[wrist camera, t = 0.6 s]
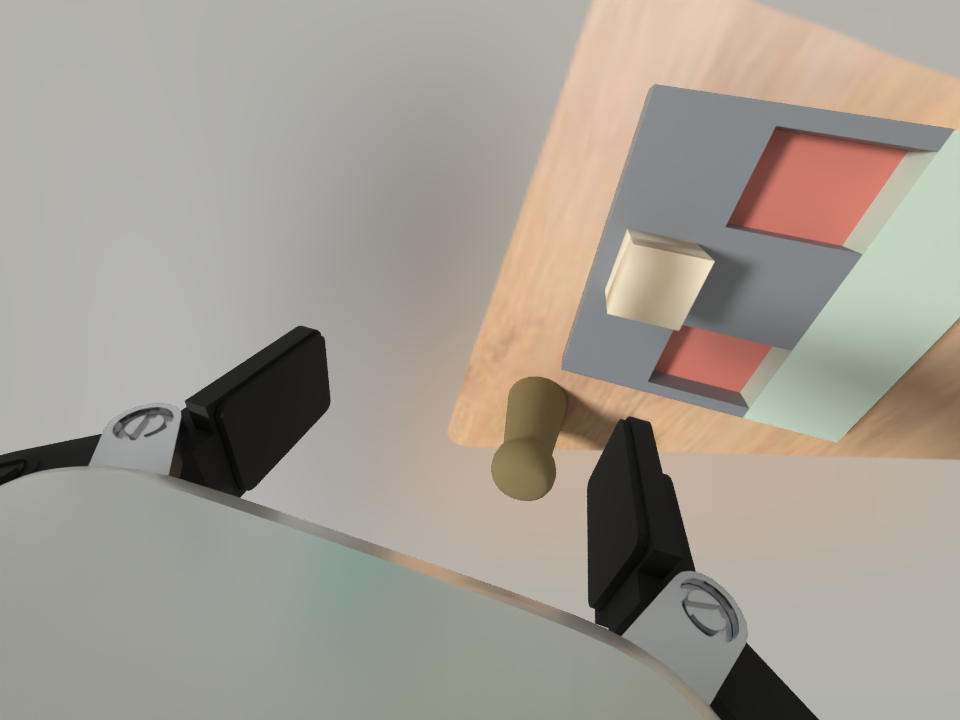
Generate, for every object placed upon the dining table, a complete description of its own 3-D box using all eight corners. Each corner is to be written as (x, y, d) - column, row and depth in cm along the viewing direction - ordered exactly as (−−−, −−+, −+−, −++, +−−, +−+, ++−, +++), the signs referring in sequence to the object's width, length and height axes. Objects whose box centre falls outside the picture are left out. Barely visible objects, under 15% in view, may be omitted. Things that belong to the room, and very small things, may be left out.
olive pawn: (564, 428, 38) (556, 519, 29) (508, 420, 39) (482, 504, 30) (570, 380, 35) (563, 465, 26) (508, 373, 36) (480, 451, 27)
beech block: (695, 242, 24) (714, 261, 20) (666, 304, 26) (679, 331, 23) (627, 228, 25) (633, 244, 21) (605, 289, 27) (607, 313, 23)
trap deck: (1063, 152, 20) (1119, 154, 18) (820, 422, 30) (836, 442, 28) (648, 89, 23) (654, 84, 21) (562, 355, 34) (560, 369, 31)
